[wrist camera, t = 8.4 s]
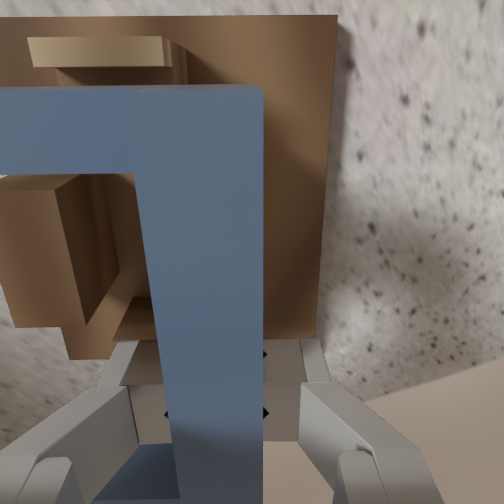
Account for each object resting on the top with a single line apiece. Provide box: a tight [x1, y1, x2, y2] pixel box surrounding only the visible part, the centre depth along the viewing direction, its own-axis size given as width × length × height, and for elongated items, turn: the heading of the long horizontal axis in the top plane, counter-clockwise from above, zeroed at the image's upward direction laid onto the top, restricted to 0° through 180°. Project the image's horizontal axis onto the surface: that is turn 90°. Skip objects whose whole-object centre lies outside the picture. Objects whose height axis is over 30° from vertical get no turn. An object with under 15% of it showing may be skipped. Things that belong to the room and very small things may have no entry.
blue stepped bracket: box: [0, 84, 263, 504], centre depth 10 cm, size 7×13×4 cm, turn 1°
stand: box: [0, 15, 338, 360], centre depth 18 cm, size 15×18×7 cm
